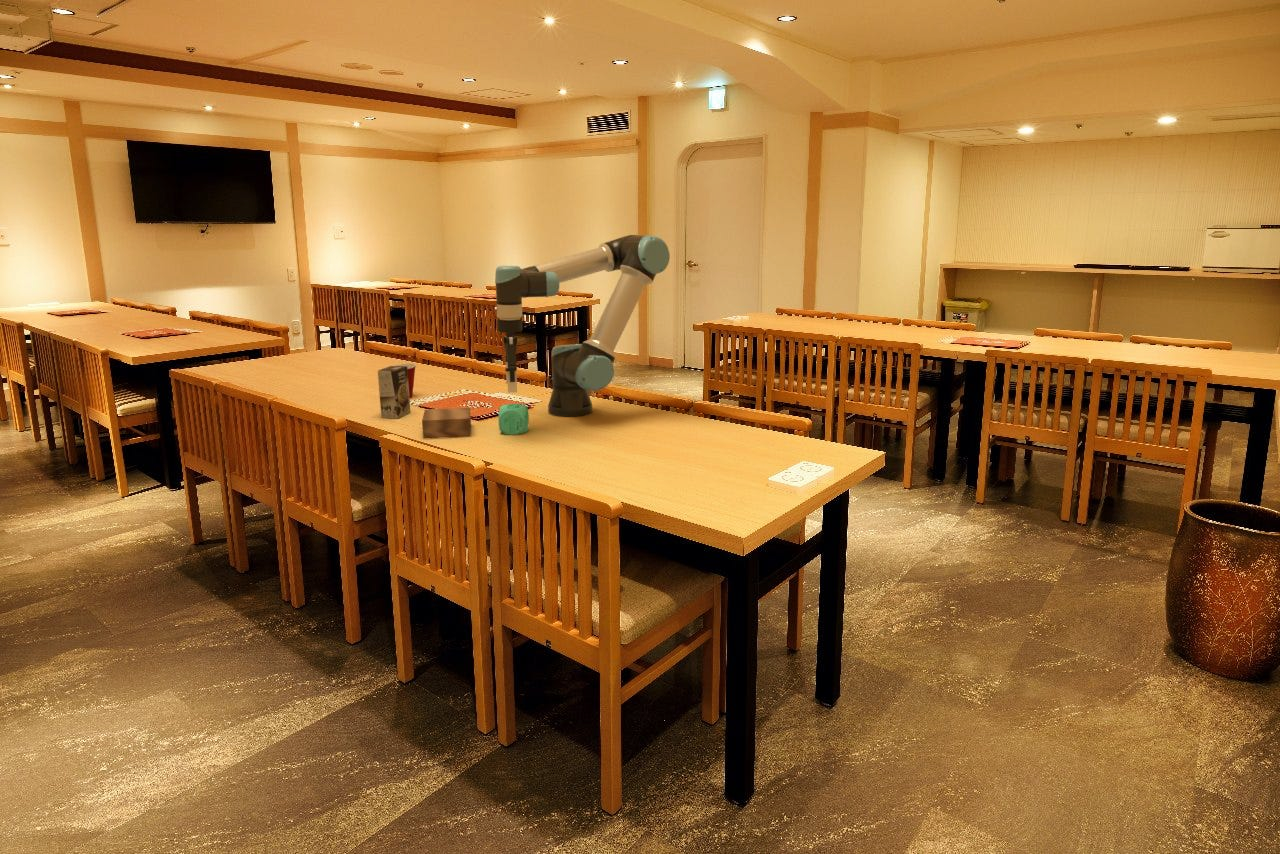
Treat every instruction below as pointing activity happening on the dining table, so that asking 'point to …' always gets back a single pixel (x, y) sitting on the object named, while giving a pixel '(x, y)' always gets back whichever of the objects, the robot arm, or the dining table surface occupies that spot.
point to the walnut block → (446, 423)
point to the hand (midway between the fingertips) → (511, 387)
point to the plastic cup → (409, 375)
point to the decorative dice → (513, 419)
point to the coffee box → (394, 391)
